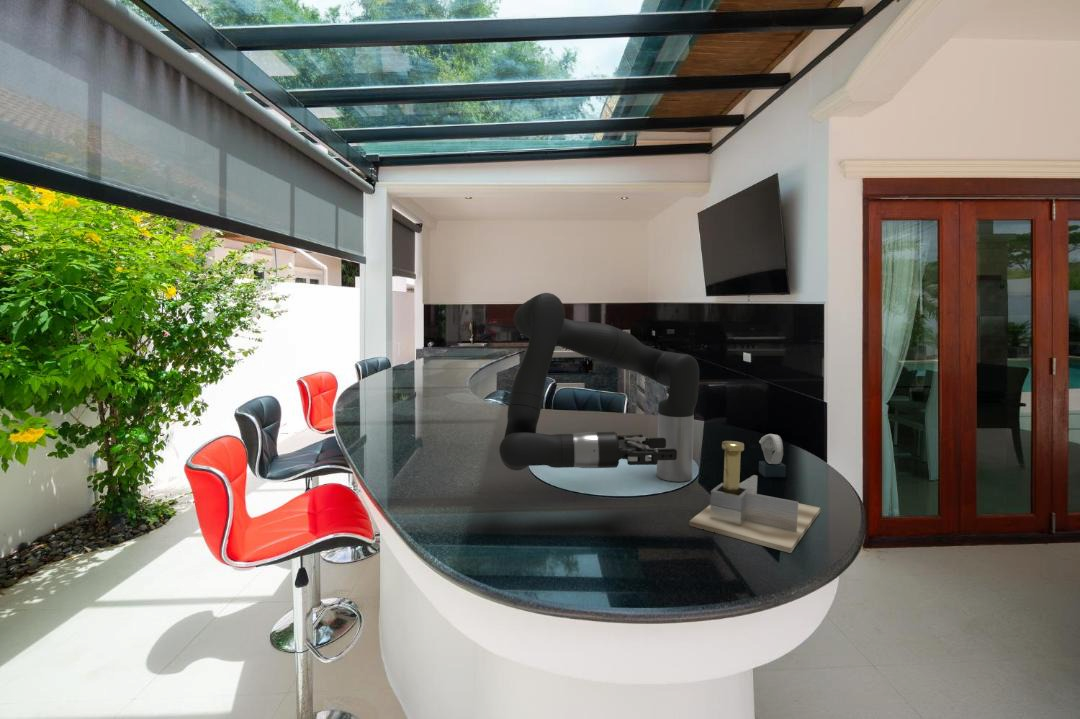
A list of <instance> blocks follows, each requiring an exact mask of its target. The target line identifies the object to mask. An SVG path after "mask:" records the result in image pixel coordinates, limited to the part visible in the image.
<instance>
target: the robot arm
mask: <svg viewBox="0 0 1080 719" xmlns="http://www.w3.org/2000/svg"><path fill="white" fill-rule="evenodd" d="M565 316H566V310H565V306H564V304H563V301H562V300H561V299H560V298H559V297H558V296H557V295H555V294H554V293H550V292H541V293H540V294H537V295H535V296H533V297H531V298H530V299H528V300H527V301H525V302H524V303H522V304H521V305H519V307H518V308H517V309H516V310H515V312H514V315H513V323H514V326H515V327H516V329H517V330H518V332H519V333H520V334H521V335H523V336H524V337H525V338H528V339H529V342H528V346H527V349H526V351H525V355H524V357H523V358H522V359H523V360H522V362H521V364H520V366H519V368H518V370H517V373H516V375H515V378H514V380H513V384H512V387H511V390H510V396H509V402H508V407H507V413H506V414H507V415H506V417H507V422H506V428H505V432H504V437H503V438H502V440H501V442H500V445H499V450H498V452H499V455H500V459H501V462H502V463H503V464H504V465H505V467H506V468H507V469H509V470H513V471H522V470H524V469H526V468H528V467H530V466H531V467H533V466H535V467H536V466H547V467H550V468H555V469H557V468H558V469H560V468H561V469H562V468H565V469H566V468H567V469H568V468H579V469H609V468H610V469H614V468H617V467H618V466H619V463H620V460H627V465H628V466H650V465H651V466H656V476H657V478H659V479H661V480H665V481H668V482H676V483H677V482H678V483H679V482H682V483H683V482H687V481H690V480H692V478H693V459H694V458H693V456H694V455H693V454H694V427H695V425H694V423H695V422H694V421H695V420H694V418H695V416H694V415H695V409H696V408H695V407H696V405H697V404H698V400H699V399H698V398H699V388H700V386H699V385H700V367H699V366H700V365H699V363H698V361H697V358H695V357H694V356H692V355H690V354H685V353H679V352H673V351H672V352H671V351H664V350H662V349H661V350H660V349H656V348H653V347H650V346H647V345H645V344H643V343H642V342H641V341H640V340H639V339H637V338H636V337H635V336H634V335H632V334H630V333H629V332H627V331H625V330H623V329H620V328H618V327H616V326H613V325H611V324H610V325H609V324H607V323H599V322H593V321H591V322H590V321H580V320H572V319H568V318H565ZM556 346H558V347H561V348H564V349H567V350H568V351H571V352H574V353H577V354H579V355H581V356H585V357H588V358H590V359H592V360H594V361H598V362H601V363H603V364H606V365H609V366H611V367H615V368H617V369H622V370H626V371H632V372H636V373H638V374H641V375H643V376H645V377H647V378H649V379H650V380H652V381H654V382H656V383H658V384H659V385H662V386H664V387H669V388H668V395H667V396H668V397H667V398H666V399H664V400H660V401H659V402H658V406H657V437H648V436H644V435H643V434H622V435H621V434H620V435H618V433H617V432H616V431H593V432H592V431H587V432H586V431H585V432H578V433H577V432H576V433H559V434H558V433H555V434H544V433H538V432H537V427H538V422H539V420H540V416H541V411H542V404H543V397H544V392H545V386H546V382H547V378H548V374H549V370H550V366H551V364H552V359H553V356H554V353H555V349H556Z"/></svg>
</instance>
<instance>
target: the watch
mask: <svg viewBox="0 0 1080 719" xmlns="http://www.w3.org/2000/svg"><path fill="white" fill-rule="evenodd" d="M758 443H759V444H760V446H761V450H762V452H763V456H764V459H765V460H759V461H758V473H759V474H760V475H761V476H763V478H786V476H787V465H786V464H784V463H783V462H782V460H783V456H784V446H783V439H782V438H781V436H780V435H778V434H773V433H768V434H765V435H763V436H762V437H761V438H760V440H759V441H758Z"/></svg>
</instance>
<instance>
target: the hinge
mask: <svg viewBox="0 0 1080 719" xmlns="http://www.w3.org/2000/svg"><path fill="white" fill-rule="evenodd" d="M798 503H799V501H797V500H792V499H786V498H780V497H775V496H769V495H763V494H760V493H758V475H756V474H753V475H751V476H750V477H748V478H746V479H745V480H743V481H742V482H739V496H738V495H734V494H729V493H725V492H723V482H721V483H720V484H718V485H716V486H715V487H714V488H713V489H712V490H710V504H709V505H710V518H712V519H716V520H720V521H724V522H728V523H732V524H736V525H739V526H741V525H742V524H743V523H744V522H745V521H748V522H753V523H757V524H762V525H767V526H771V527H776V528H781V529H785V530H790V531H794V532H797V520H798Z"/></svg>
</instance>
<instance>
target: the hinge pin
mask: <svg viewBox="0 0 1080 719" xmlns="http://www.w3.org/2000/svg"><path fill="white" fill-rule="evenodd" d="M721 449H722V450H724V458H723V459H724V460H723V482H722V483H723V492H725V493H729V494H734V495H738V496H739V484H740V480H741V479H740V473H741V454H742V452H743V451H744V450H745V444H744V442H740V441H735V440H724V441H722V442H721Z"/></svg>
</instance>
